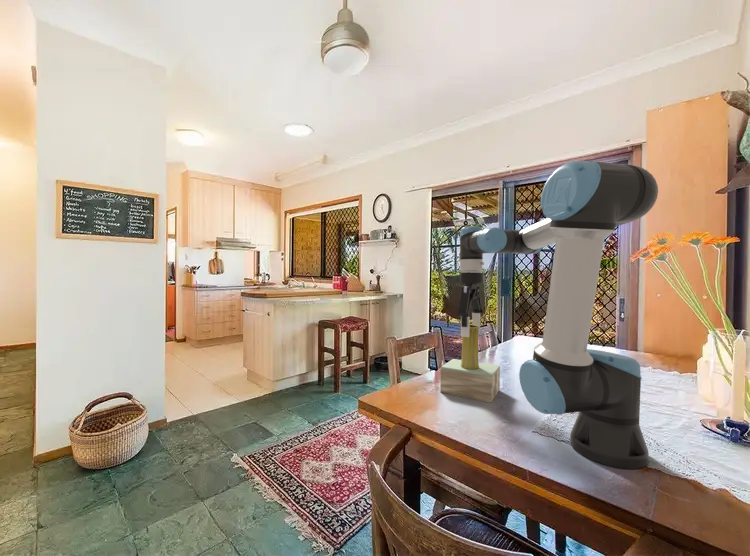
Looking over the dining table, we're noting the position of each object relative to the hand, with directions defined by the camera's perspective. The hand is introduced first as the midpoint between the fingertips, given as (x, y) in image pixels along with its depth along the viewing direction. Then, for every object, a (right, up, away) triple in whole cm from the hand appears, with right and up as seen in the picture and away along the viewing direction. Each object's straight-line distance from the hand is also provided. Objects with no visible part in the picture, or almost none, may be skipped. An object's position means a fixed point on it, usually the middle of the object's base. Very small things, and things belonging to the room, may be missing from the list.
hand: (470, 333), depth 117 cm
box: (0, -20, +2) cm, 20 cm away
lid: (0, -12, +2) cm, 13 cm away
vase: (0, -12, +1) cm, 12 cm away
